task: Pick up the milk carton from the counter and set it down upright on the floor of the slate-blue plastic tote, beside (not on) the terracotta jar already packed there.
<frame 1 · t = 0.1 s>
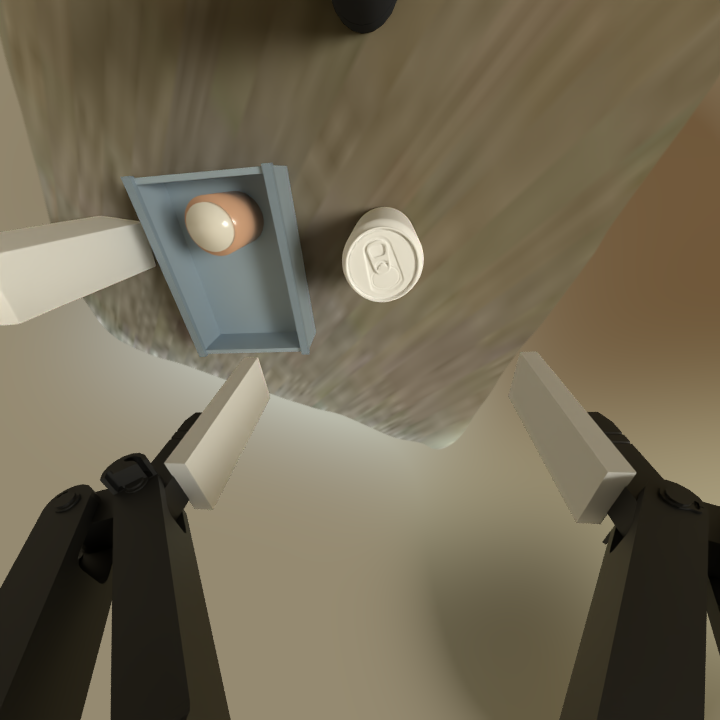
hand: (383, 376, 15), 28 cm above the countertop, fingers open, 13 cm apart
milk: (130, 241, 41), on the countertop
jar: (240, 217, 37), point 1 cm above the countertop, touching tote
tote: (248, 264, 41), on the countertop
beverage can: (383, 241, 38), on the countertop
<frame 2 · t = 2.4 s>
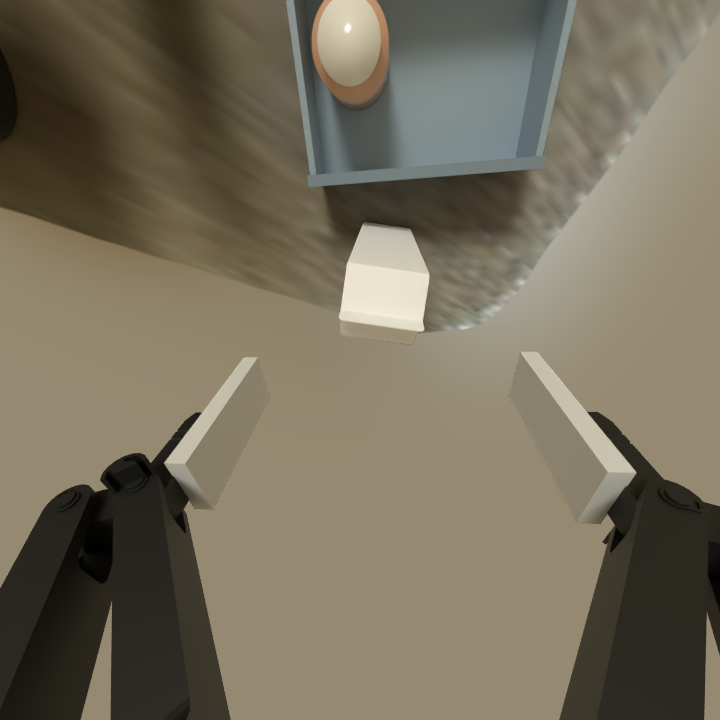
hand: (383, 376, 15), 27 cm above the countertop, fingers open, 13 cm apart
milk: (383, 249, 38), on the countertop
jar: (357, 70, 28), point 1 cm above the countertop, touching tote
tote: (419, 78, 29), on the countertop
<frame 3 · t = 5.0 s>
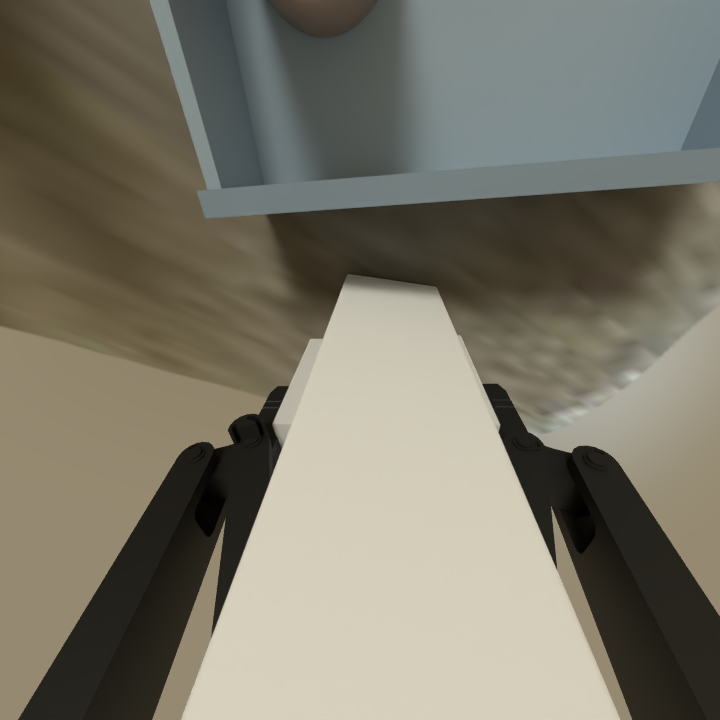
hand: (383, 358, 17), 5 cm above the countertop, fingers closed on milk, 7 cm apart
milk: (384, 319, 21), on the countertop, touching gripper
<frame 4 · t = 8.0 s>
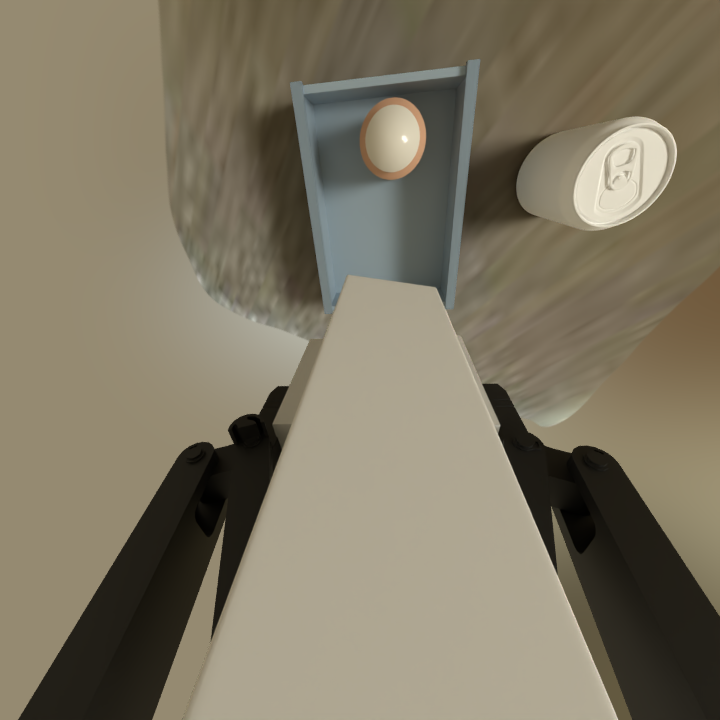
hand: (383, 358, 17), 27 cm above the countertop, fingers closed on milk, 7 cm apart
milk: (384, 319, 21), point 22 cm above the countertop, touching gripper
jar: (393, 147, 32), point 1 cm above the countertop, touching tote
tote: (385, 208, 36), on the countertop
beverage can: (550, 176, 33), on the countertop
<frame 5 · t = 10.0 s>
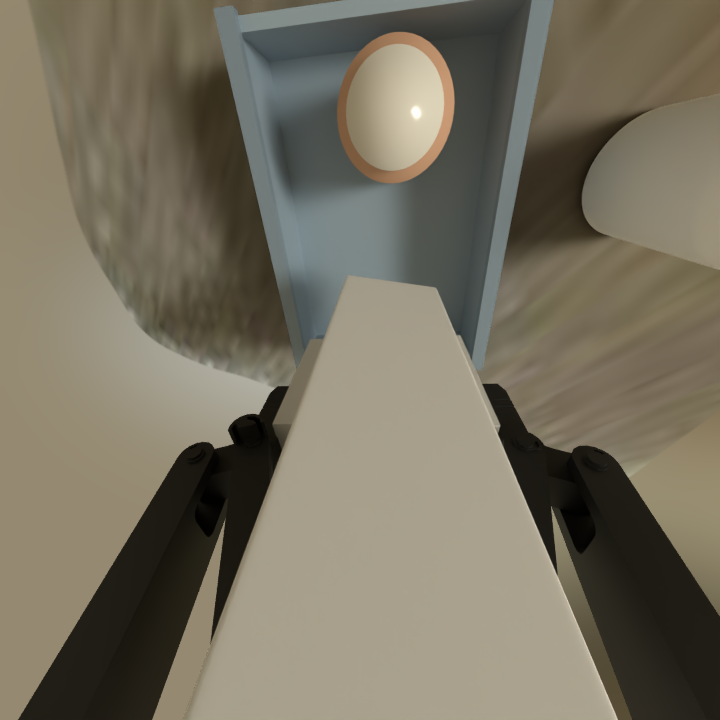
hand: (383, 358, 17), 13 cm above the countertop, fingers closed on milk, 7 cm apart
milk: (384, 319, 21), point 8 cm above the countertop, touching gripper
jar: (395, 132, 21), point 1 cm above the countertop, touching tote
tote: (384, 222, 25), on the countertop
beverage can: (635, 176, 22), on the countertop
when the fingers open (7 cm above the countertop, at t = 11.4 s): milk drops 2 cm, resting on tote.
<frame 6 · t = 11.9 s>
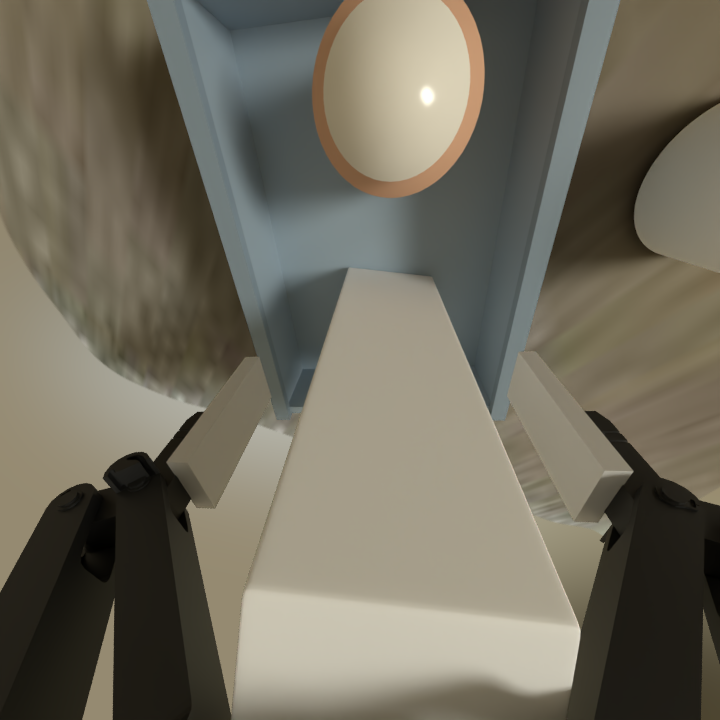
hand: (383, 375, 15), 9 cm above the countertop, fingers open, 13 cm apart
milk: (384, 308, 22), resting on tote
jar: (397, 124, 16), point 1 cm above the countertop, touching tote
tote: (382, 238, 20), on the countertop
beverage can: (703, 182, 17), on the countertop
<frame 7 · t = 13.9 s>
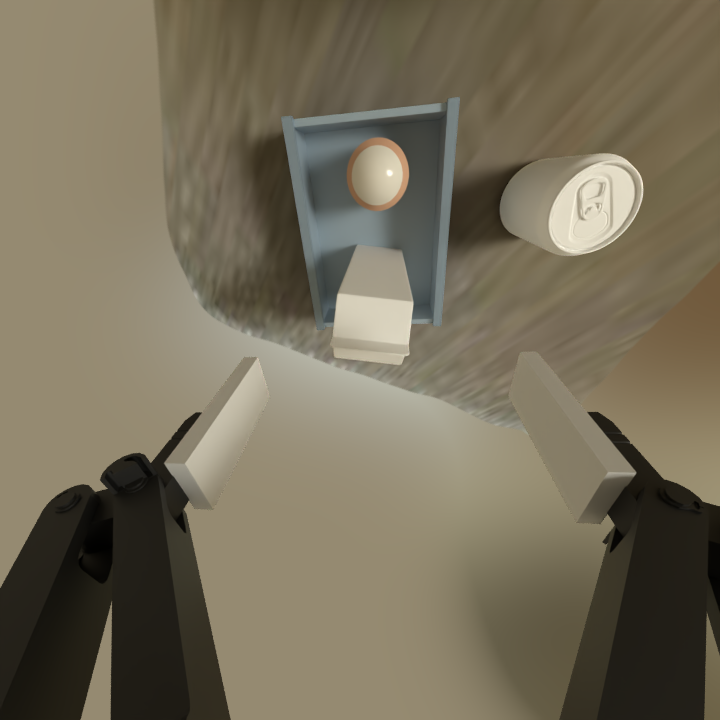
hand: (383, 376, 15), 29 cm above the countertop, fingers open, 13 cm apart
milk: (376, 268, 40), resting on tote
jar: (381, 173, 34), point 1 cm above the countertop, touching tote
tote: (375, 229, 38), on the countertop
beverage can: (532, 200, 35), on the countertop
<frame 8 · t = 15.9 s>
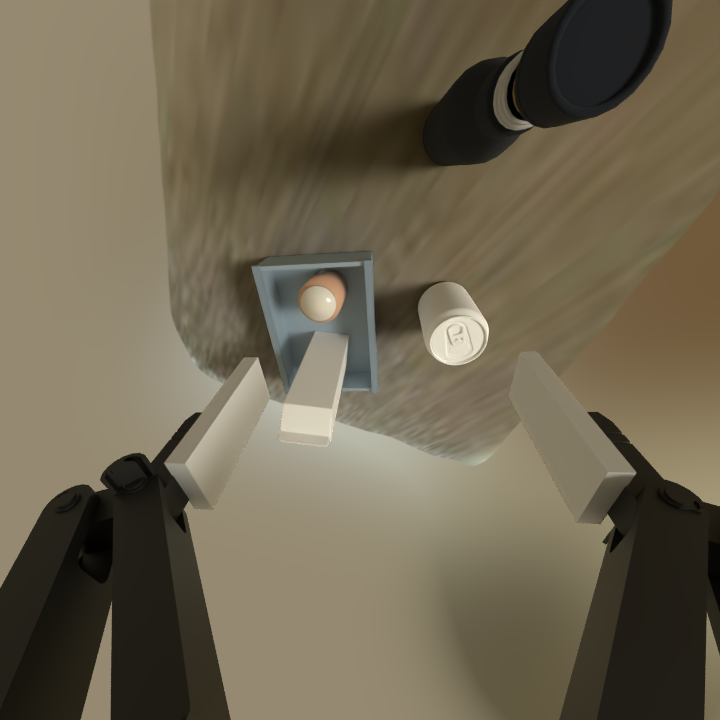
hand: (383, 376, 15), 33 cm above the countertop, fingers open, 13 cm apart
milk: (331, 346, 52), resting on tote
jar: (329, 287, 46), point 1 cm above the countertop, touching tote
tote: (328, 320, 50), on the countertop
wine bottle: (449, 134, 35), on the countertop
beverage can: (442, 304, 47), on the countertop
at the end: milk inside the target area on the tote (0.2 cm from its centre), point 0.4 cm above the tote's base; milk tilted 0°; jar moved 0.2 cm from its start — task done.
